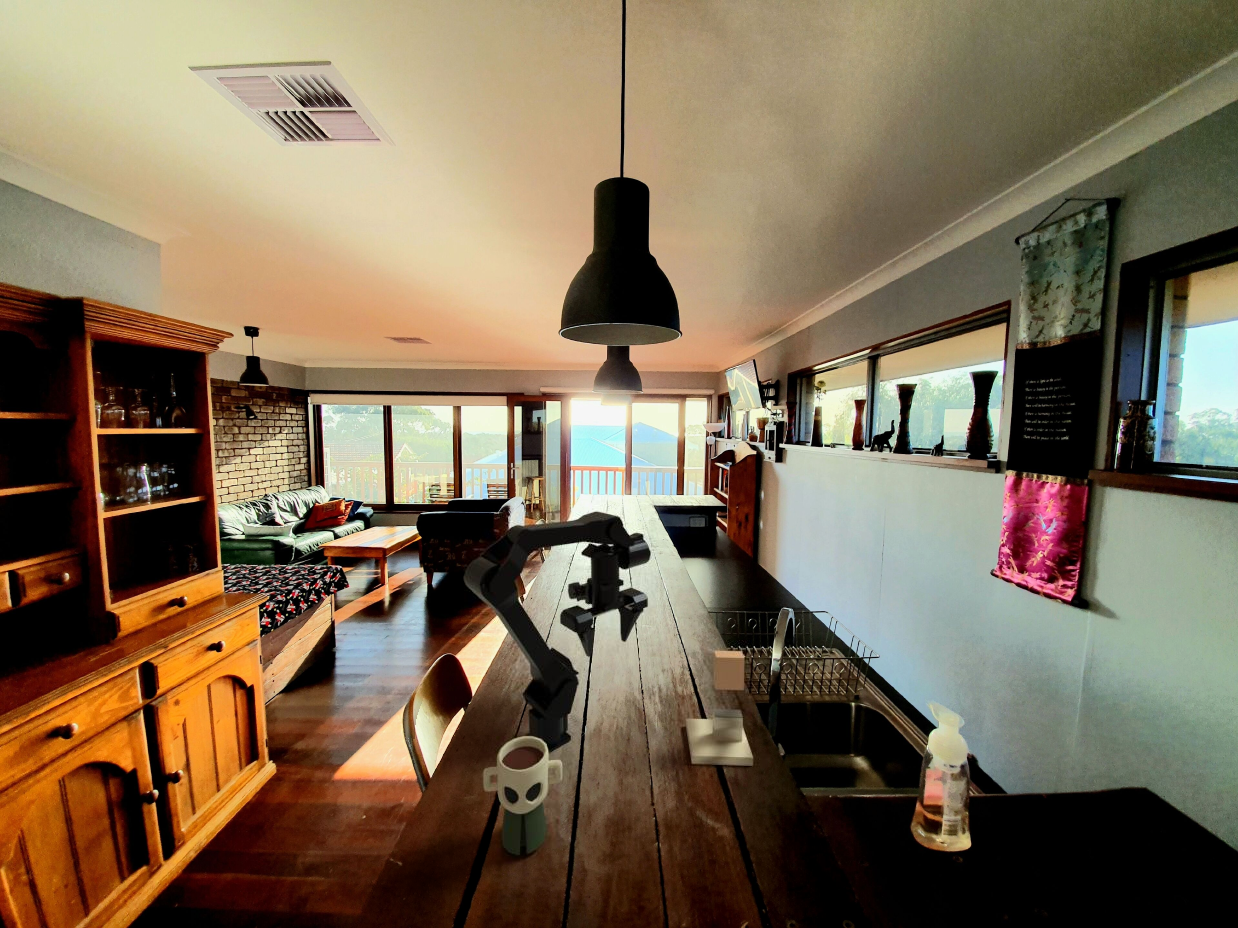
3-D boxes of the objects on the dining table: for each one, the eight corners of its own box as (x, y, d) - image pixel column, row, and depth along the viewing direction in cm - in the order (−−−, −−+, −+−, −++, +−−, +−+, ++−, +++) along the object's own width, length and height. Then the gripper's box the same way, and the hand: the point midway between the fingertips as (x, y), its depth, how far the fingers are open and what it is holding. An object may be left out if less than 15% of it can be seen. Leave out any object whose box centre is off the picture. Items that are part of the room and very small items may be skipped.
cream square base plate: (691, 763, 80) (692, 729, 79) (686, 725, 90) (686, 695, 89) (752, 765, 79) (753, 731, 79) (740, 727, 89) (741, 697, 89)
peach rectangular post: (715, 689, 82) (716, 657, 82) (713, 681, 85) (714, 650, 84) (743, 689, 82) (744, 657, 81) (740, 682, 84) (741, 651, 84)
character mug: (481, 867, 61) (479, 776, 60) (488, 821, 68) (486, 739, 67) (563, 855, 63) (563, 766, 62) (562, 812, 70) (561, 731, 69)
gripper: (615, 556, 104) (616, 621, 106) (544, 575, 93) (546, 648, 94) (649, 568, 96) (649, 639, 97) (575, 590, 84) (577, 671, 86)
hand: (606, 648), depth 94 cm, fingers open, 9 cm apart
